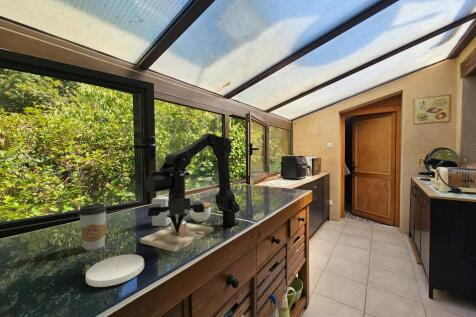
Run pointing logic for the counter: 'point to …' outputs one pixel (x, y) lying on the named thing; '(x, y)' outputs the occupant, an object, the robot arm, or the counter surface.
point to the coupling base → (176, 237)
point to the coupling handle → (181, 230)
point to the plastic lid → (114, 270)
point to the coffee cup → (93, 226)
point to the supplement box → (161, 218)
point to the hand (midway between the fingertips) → (177, 232)
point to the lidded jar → (201, 213)
